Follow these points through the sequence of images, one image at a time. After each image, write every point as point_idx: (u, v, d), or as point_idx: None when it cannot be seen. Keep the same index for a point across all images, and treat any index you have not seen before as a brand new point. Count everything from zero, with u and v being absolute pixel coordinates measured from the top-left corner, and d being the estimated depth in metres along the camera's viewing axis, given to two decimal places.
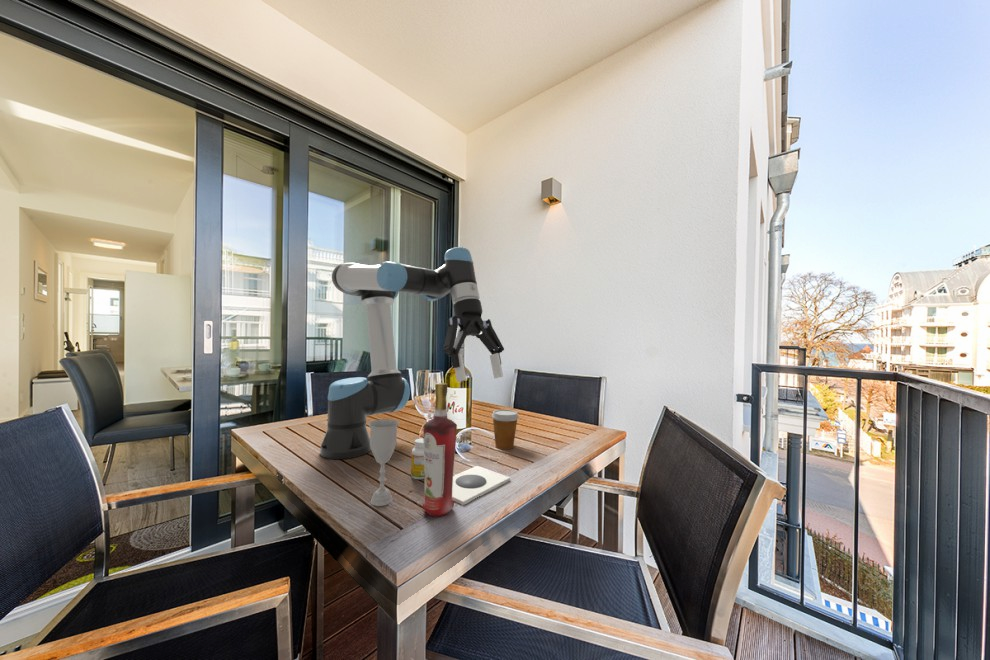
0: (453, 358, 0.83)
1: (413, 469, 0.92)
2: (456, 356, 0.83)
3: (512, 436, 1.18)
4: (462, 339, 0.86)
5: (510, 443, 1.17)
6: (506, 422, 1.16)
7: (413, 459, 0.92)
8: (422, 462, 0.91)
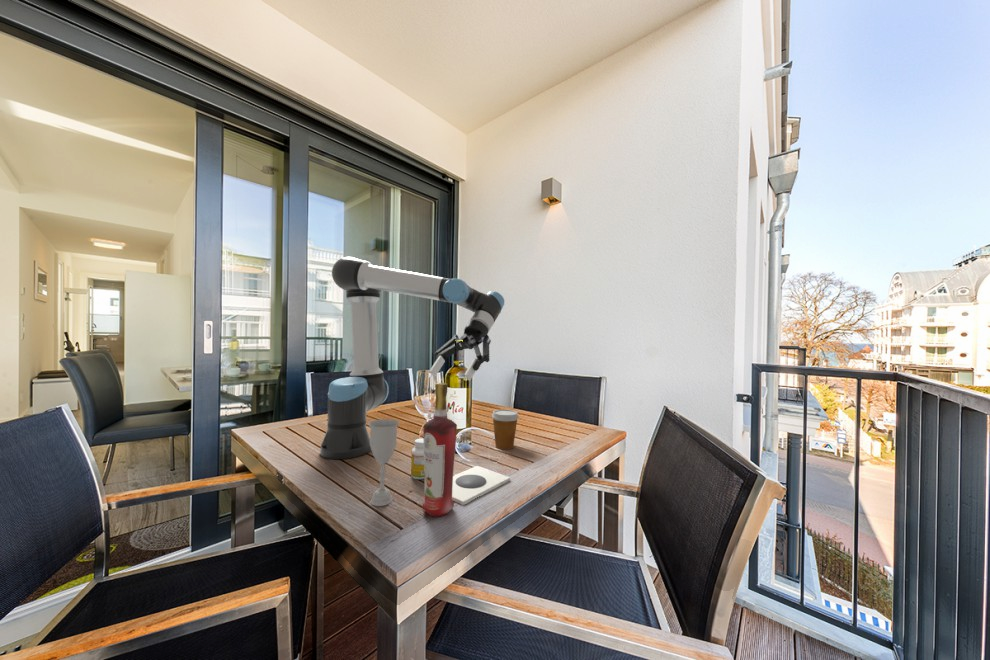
0: (479, 363, 1.01)
1: (413, 469, 0.92)
2: None
3: (512, 436, 1.18)
4: None
5: (510, 443, 1.17)
6: (506, 422, 1.16)
7: (413, 459, 0.92)
8: (422, 462, 0.91)
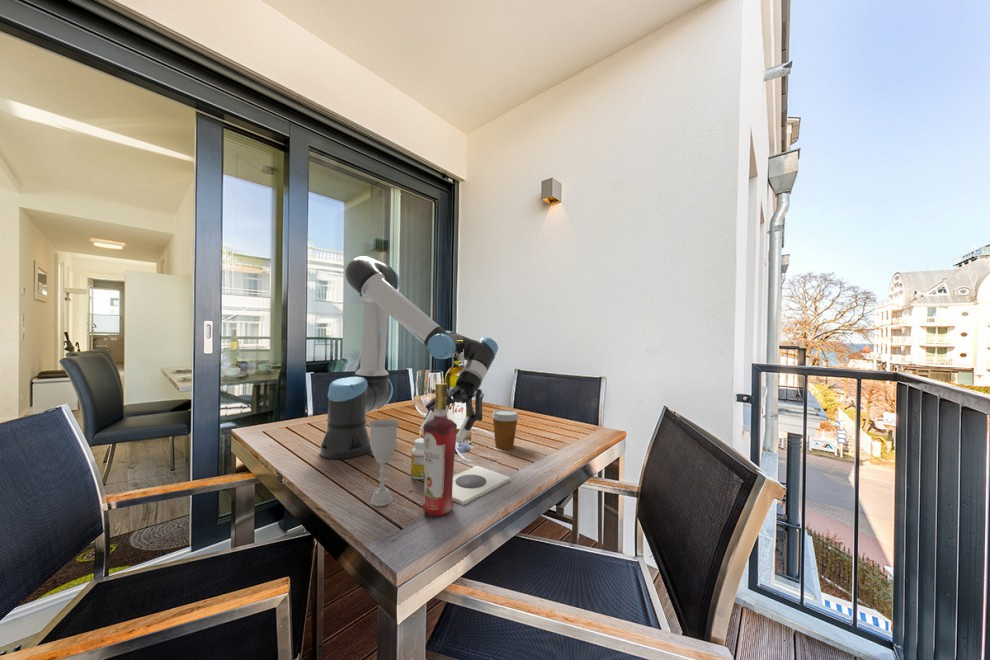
0: (472, 423, 0.97)
1: (413, 469, 0.92)
2: None
3: (512, 436, 1.18)
4: None
5: (510, 443, 1.17)
6: (506, 422, 1.16)
7: (413, 459, 0.92)
8: (422, 462, 0.91)
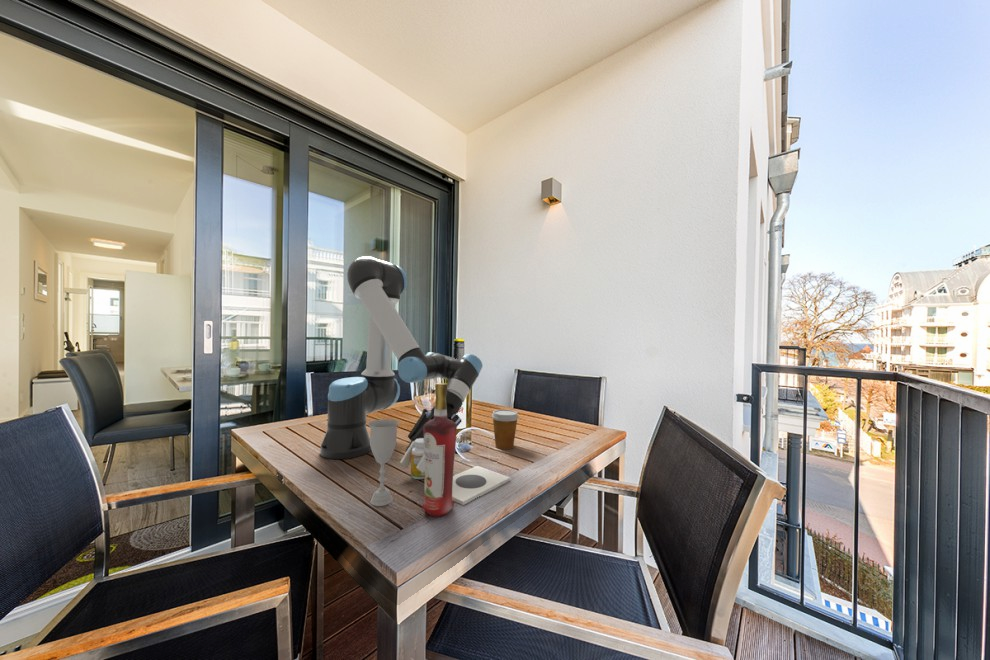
0: None
1: (413, 469, 0.92)
2: None
3: (512, 436, 1.18)
4: None
5: (510, 443, 1.17)
6: (506, 422, 1.16)
7: (413, 459, 0.92)
8: None
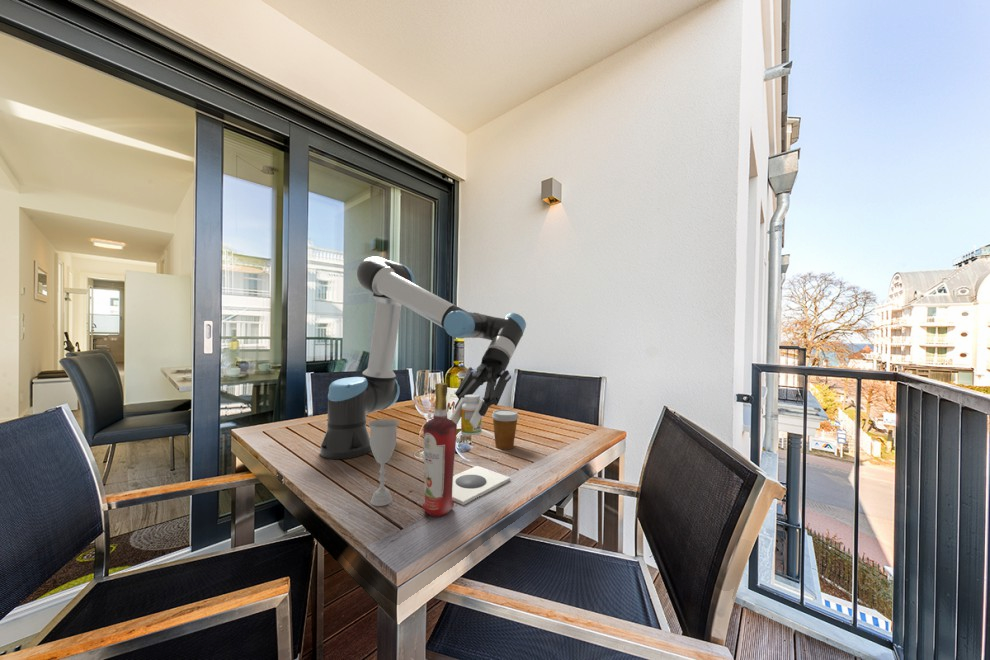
0: (487, 407, 0.87)
1: (464, 425, 0.87)
2: None
3: (512, 436, 1.18)
4: None
5: (510, 443, 1.17)
6: (506, 422, 1.16)
7: (464, 414, 0.87)
8: None
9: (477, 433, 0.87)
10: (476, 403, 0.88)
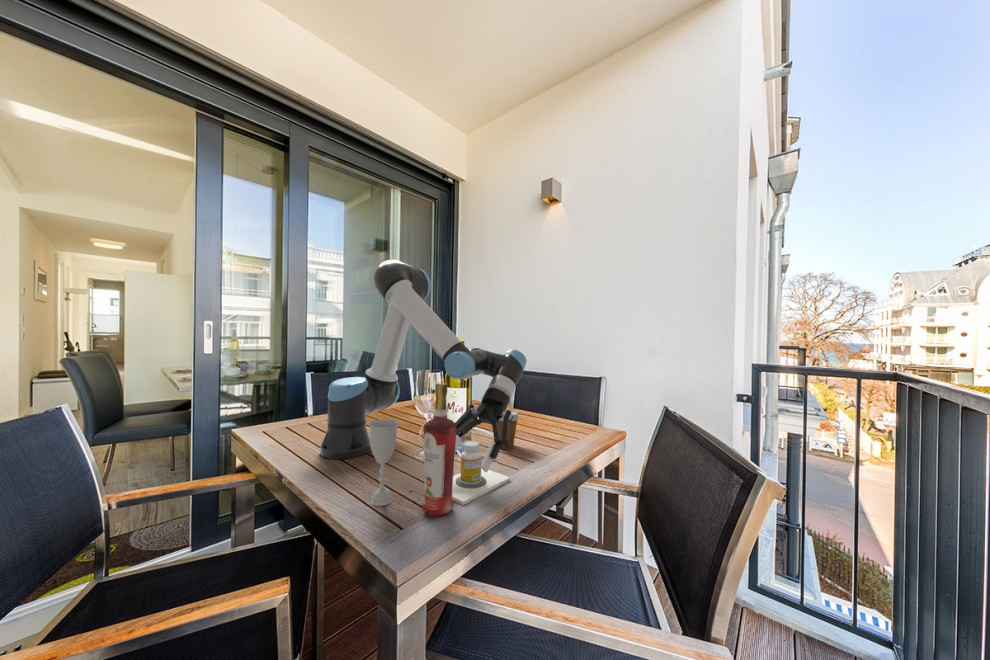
0: (498, 450, 0.86)
1: (464, 474, 0.87)
2: None
3: (512, 436, 1.18)
4: None
5: (510, 443, 1.17)
6: None
7: (464, 463, 0.87)
8: (473, 466, 0.86)
9: (476, 482, 0.87)
10: (476, 451, 0.88)
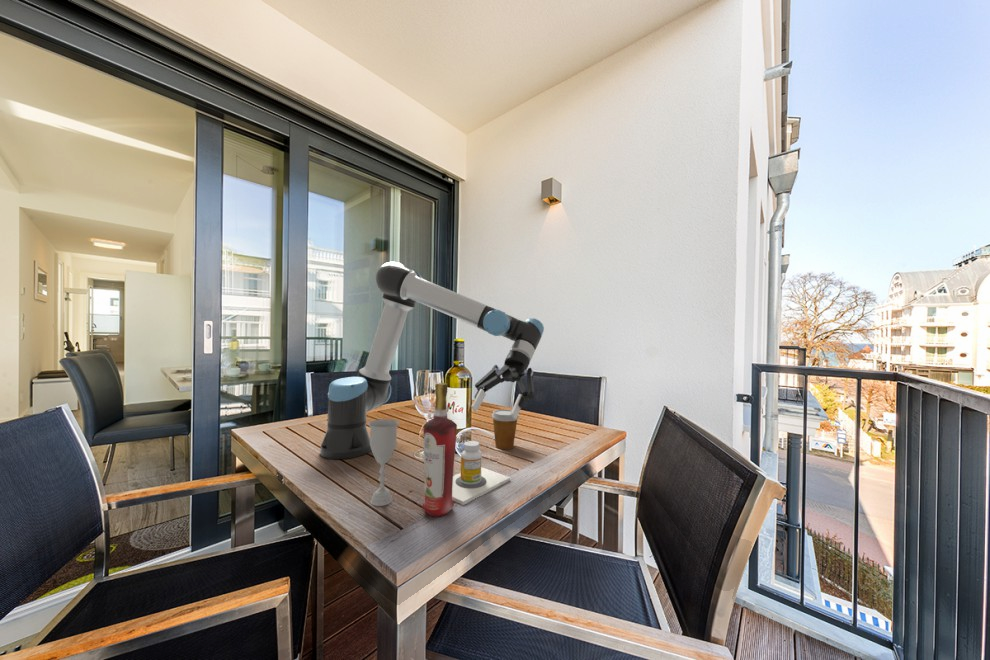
0: (525, 400, 0.97)
1: (464, 474, 0.87)
2: None
3: (512, 436, 1.18)
4: None
5: (510, 443, 1.17)
6: (506, 422, 1.16)
7: (464, 463, 0.87)
8: (473, 466, 0.86)
9: (476, 482, 0.87)
10: (476, 451, 0.88)
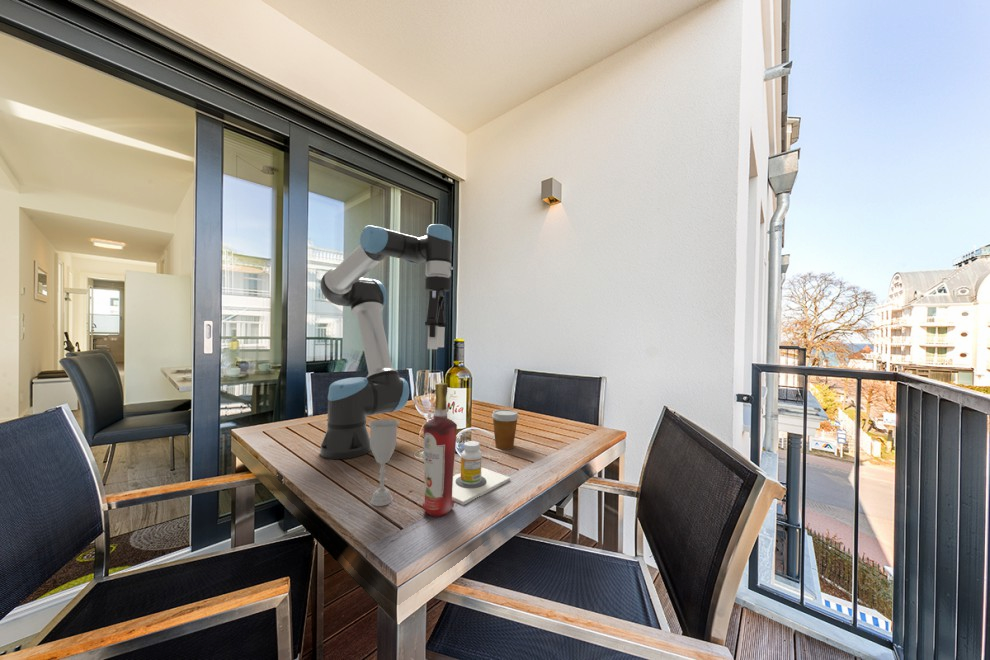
0: (432, 329, 0.94)
1: (464, 474, 0.87)
2: (435, 327, 0.95)
3: (512, 436, 1.18)
4: (438, 313, 0.97)
5: (510, 443, 1.17)
6: (506, 422, 1.16)
7: (464, 463, 0.87)
8: (473, 466, 0.86)
9: (476, 482, 0.87)
10: (476, 451, 0.88)
